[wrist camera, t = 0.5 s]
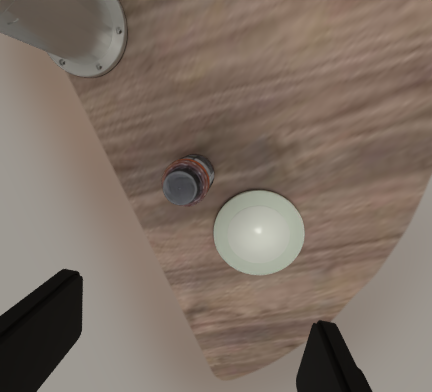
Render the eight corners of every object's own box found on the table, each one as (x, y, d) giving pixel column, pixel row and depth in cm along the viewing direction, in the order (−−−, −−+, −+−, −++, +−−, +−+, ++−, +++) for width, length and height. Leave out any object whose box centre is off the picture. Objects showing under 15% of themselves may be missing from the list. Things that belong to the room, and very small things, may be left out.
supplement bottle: (189, 197, 40) (169, 222, 29) (170, 164, 39) (143, 177, 28) (221, 181, 39) (214, 200, 28) (203, 146, 38) (188, 152, 27)
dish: (209, 262, 42) (208, 267, 41) (220, 182, 39) (219, 185, 37) (291, 276, 42) (293, 282, 40) (311, 196, 38) (314, 199, 36)
